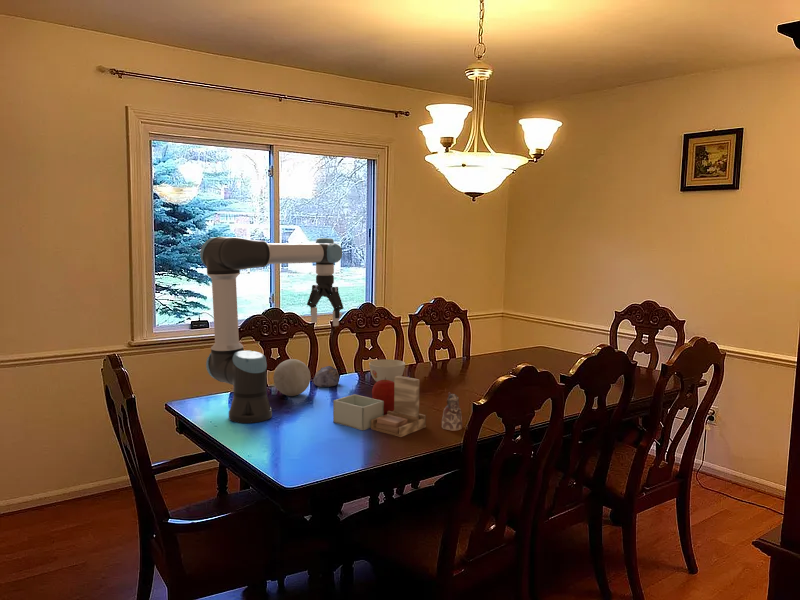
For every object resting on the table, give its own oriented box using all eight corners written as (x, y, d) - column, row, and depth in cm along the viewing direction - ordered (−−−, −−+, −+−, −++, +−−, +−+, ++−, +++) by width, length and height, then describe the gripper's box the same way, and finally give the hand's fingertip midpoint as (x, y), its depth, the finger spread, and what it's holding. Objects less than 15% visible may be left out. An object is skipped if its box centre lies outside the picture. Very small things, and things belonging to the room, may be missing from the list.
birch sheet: (414, 426, 214) (415, 380, 212) (394, 421, 220) (394, 376, 218) (418, 424, 216) (419, 379, 214) (398, 419, 221) (399, 375, 220)
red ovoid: (404, 413, 232) (404, 377, 230) (385, 419, 225) (385, 381, 223) (384, 407, 239) (385, 372, 237) (365, 413, 232) (366, 376, 230)
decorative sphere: (299, 401, 246) (299, 364, 244) (266, 398, 251) (266, 361, 249) (316, 392, 260) (316, 357, 259) (285, 389, 265) (284, 354, 263)
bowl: (410, 388, 270) (410, 365, 269) (375, 391, 264) (375, 368, 263) (397, 379, 285) (397, 358, 284) (363, 382, 279) (364, 360, 278)
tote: (362, 430, 211) (363, 407, 210) (333, 422, 220) (333, 400, 219) (383, 423, 220) (383, 401, 219) (354, 415, 228) (354, 394, 228)
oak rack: (400, 437, 205) (400, 424, 204) (370, 429, 213) (371, 416, 212) (425, 427, 216) (425, 415, 215) (396, 419, 224) (396, 408, 223)
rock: (342, 376, 278) (334, 359, 273) (337, 392, 270) (330, 375, 265) (319, 380, 281) (312, 363, 276) (314, 395, 272) (307, 378, 267)
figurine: (445, 431, 212) (446, 396, 210) (438, 425, 218) (439, 391, 217) (465, 429, 214) (466, 395, 212) (457, 423, 220) (458, 390, 219)
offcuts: (397, 433, 206) (397, 423, 206) (375, 427, 212) (375, 418, 212) (410, 428, 212) (411, 419, 212) (389, 422, 218) (389, 413, 218)
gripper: (352, 275, 258) (351, 326, 261) (312, 272, 275) (312, 320, 277) (338, 276, 253) (338, 328, 255) (298, 273, 269) (298, 321, 271)
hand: (324, 324), depth 266 cm, fingers open, 13 cm apart
